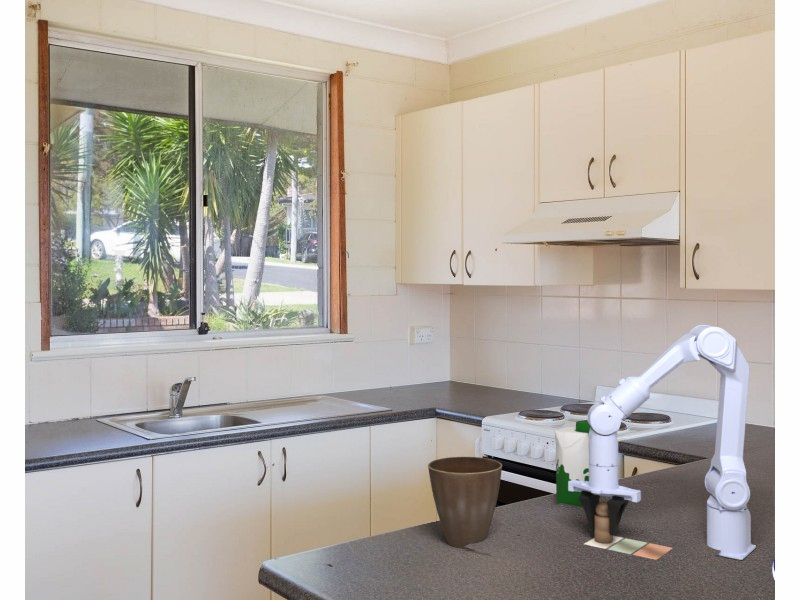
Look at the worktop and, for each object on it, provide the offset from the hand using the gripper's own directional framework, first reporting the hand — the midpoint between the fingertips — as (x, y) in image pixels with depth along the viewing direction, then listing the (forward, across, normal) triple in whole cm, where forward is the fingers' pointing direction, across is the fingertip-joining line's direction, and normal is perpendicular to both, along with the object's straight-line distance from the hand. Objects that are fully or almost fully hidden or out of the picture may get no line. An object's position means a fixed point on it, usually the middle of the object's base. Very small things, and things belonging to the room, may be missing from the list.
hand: (603, 532), depth 157 cm
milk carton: (+3, -18, +24) cm, 30 cm away
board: (+3, +5, 0) cm, 6 cm away
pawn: (+2, 0, 0) cm, 2 cm away
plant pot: (+3, -23, -15) cm, 28 cm away
